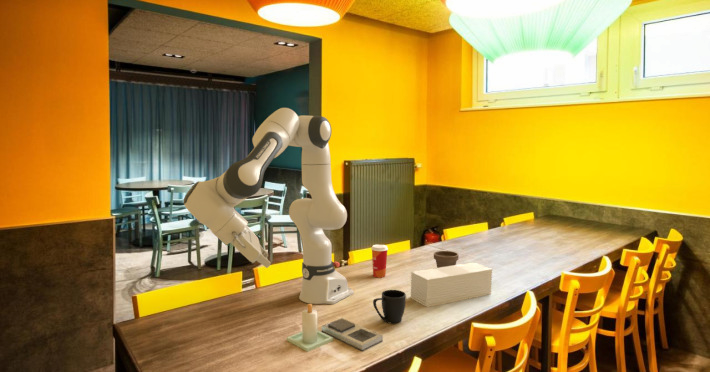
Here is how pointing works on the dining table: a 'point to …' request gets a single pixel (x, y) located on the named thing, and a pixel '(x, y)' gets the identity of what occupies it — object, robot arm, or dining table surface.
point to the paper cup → (379, 260)
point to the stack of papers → (450, 283)
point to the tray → (297, 341)
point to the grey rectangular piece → (352, 334)
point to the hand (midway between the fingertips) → (267, 261)
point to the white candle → (309, 325)
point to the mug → (392, 305)
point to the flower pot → (445, 258)
